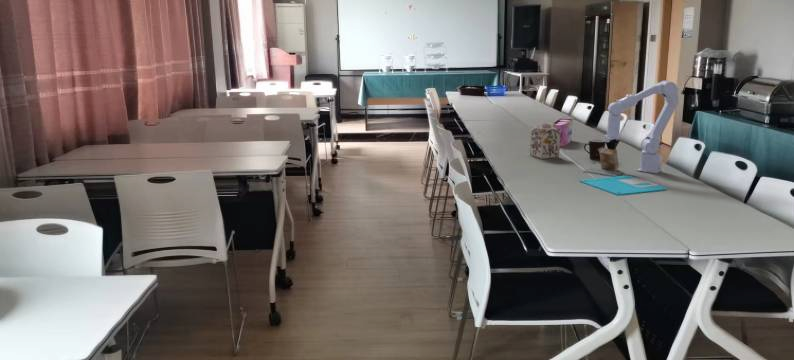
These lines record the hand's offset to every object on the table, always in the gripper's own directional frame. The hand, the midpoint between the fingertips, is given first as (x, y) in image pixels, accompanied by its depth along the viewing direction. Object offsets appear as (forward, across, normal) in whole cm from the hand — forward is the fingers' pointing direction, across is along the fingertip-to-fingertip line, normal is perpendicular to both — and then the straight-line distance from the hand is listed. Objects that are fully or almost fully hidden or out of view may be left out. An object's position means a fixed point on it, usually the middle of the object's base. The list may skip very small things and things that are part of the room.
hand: (611, 154), depth 303 cm
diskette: (+8, +27, +17) cm, 33 cm away
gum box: (+8, -53, -51) cm, 74 cm away
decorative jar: (+8, -8, -40) cm, 42 cm away
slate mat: (+7, +8, 0) cm, 11 cm away
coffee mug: (+8, -20, -17) cm, 27 cm away
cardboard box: (+7, 0, 0) cm, 7 cm away
